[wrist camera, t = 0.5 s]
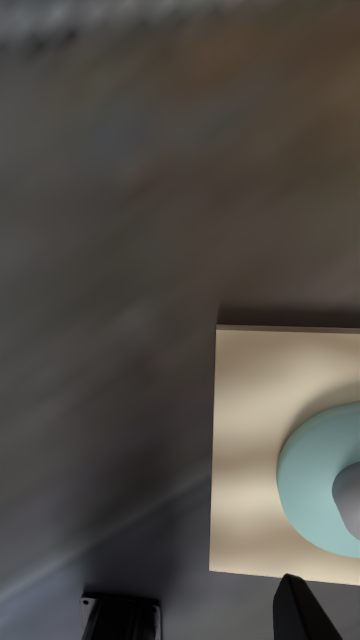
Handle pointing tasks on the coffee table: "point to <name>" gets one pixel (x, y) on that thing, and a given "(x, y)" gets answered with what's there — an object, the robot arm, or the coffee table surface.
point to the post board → (272, 442)
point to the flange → (324, 480)
